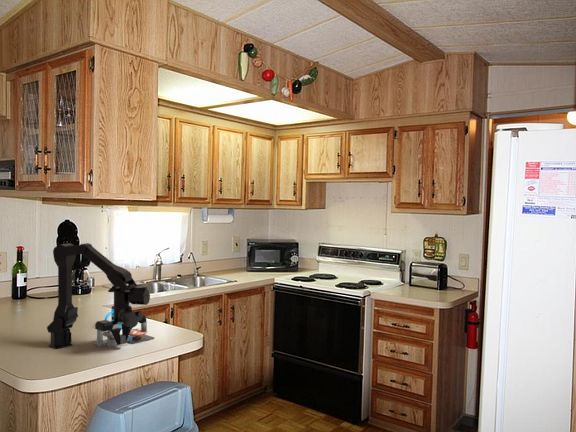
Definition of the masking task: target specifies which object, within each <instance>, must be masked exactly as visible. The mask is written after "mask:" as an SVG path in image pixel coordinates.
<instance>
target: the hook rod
mask: <svg viewBox="0 0 576 432" xmlns="http://www.w3.org/2000/svg"><path fill="white" fill-rule="evenodd" d="M103 337H106V338H107V337H108V338H111V339H114V336H113V334H112V333H109V332H107V331H105V332H103ZM114 340H115V339H114ZM125 343H126V344H127V342H126V335H124V334H122V333H120V345H124V344H125ZM120 345H119V346H120Z"/></svg>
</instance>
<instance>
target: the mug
mask: <svg viewBox="0 0 576 432" xmlns="http://www.w3.org/2000/svg"><path fill="white" fill-rule="evenodd" d="M109 317H111V319H110V321H114V320H112V317H114V309H112V308H111V311H110V312H108V313H107V314H106V315H105V317H104V320H108V318H109ZM117 323H119V322H117ZM119 328H122V324H121V325H119Z"/></svg>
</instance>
